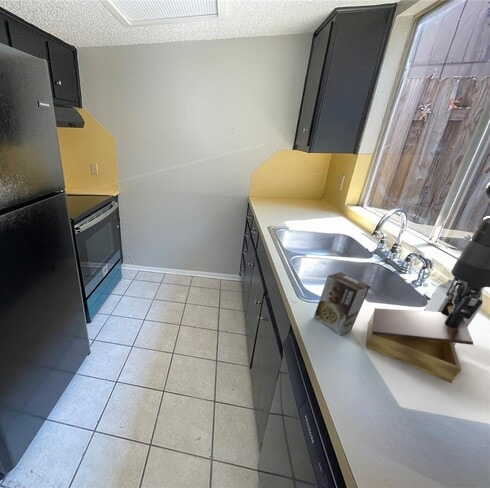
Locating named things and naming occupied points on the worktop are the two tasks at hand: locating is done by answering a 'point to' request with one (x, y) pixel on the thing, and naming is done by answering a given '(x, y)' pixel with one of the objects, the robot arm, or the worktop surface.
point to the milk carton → (440, 300)
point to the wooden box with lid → (417, 353)
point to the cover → (419, 325)
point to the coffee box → (341, 302)
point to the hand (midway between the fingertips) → (448, 320)
